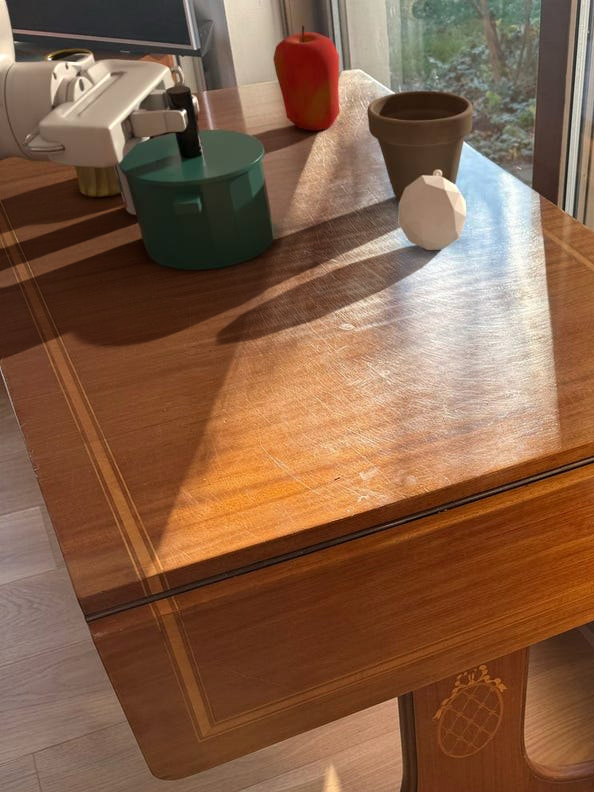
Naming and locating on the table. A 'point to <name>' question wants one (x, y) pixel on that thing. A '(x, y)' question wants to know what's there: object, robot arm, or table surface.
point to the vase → (91, 178)
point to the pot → (205, 221)
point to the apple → (308, 79)
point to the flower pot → (420, 134)
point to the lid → (191, 152)
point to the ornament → (432, 212)
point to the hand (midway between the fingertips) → (191, 112)
